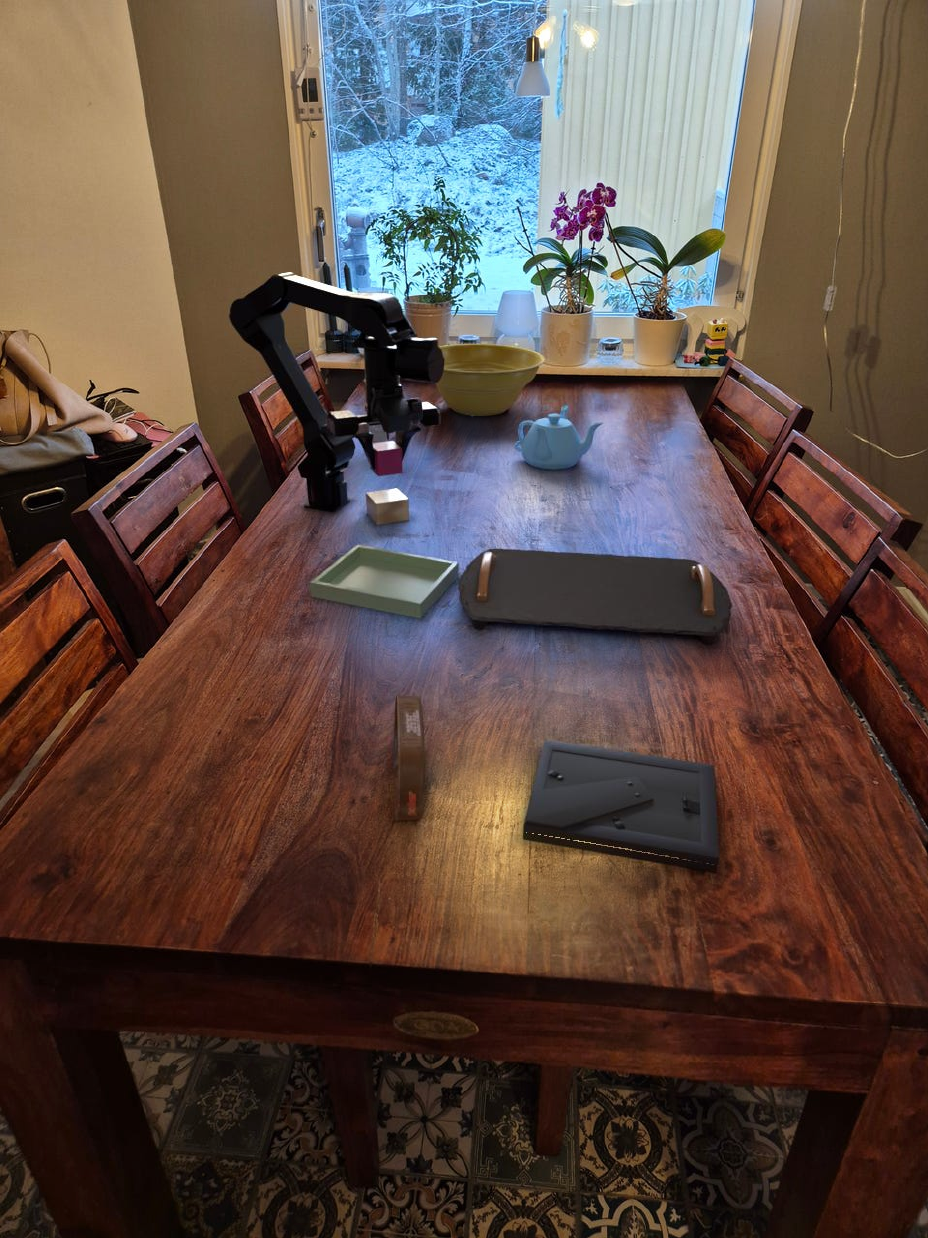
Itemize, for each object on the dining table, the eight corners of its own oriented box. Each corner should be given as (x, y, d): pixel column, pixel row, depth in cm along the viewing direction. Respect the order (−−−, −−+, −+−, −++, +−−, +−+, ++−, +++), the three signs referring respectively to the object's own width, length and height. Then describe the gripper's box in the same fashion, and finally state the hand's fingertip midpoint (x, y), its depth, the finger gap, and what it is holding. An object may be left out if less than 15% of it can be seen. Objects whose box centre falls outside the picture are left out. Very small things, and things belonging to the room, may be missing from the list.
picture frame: (522, 839, 77) (716, 873, 74) (523, 822, 76) (720, 855, 73) (543, 753, 89) (711, 779, 85) (544, 736, 88) (715, 762, 84)
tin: (393, 742, 90) (390, 678, 86) (421, 740, 90) (420, 677, 86) (394, 840, 77) (391, 771, 73) (427, 838, 77) (426, 769, 73)
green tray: (311, 596, 120) (309, 582, 119) (357, 557, 132) (356, 544, 131) (420, 618, 115) (420, 603, 113) (458, 576, 126) (458, 562, 125)
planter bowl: (546, 427, 197) (549, 371, 191) (413, 426, 198) (412, 369, 191) (537, 394, 225) (540, 344, 219) (421, 392, 226) (420, 342, 219)
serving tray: (714, 577, 127) (721, 540, 124) (741, 655, 107) (749, 613, 104) (467, 562, 131) (468, 526, 128) (448, 635, 111) (448, 594, 108)
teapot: (506, 455, 179) (507, 408, 173) (567, 447, 183) (570, 402, 178) (536, 477, 167) (538, 427, 162) (600, 468, 172) (604, 419, 167)
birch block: (377, 524, 144) (376, 503, 142) (366, 513, 149) (365, 492, 147) (409, 520, 146) (408, 498, 144) (397, 508, 151) (397, 487, 149)
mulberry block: (378, 476, 140) (377, 451, 138) (370, 468, 144) (368, 443, 142) (402, 473, 142) (402, 447, 140) (394, 465, 146) (393, 440, 143)
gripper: (341, 393, 125) (348, 489, 133) (453, 382, 132) (453, 474, 140) (322, 377, 134) (329, 468, 142) (427, 368, 141) (429, 455, 149)
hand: (386, 467), depth 143 cm, fingers closed on mulberry block, 4 cm apart
